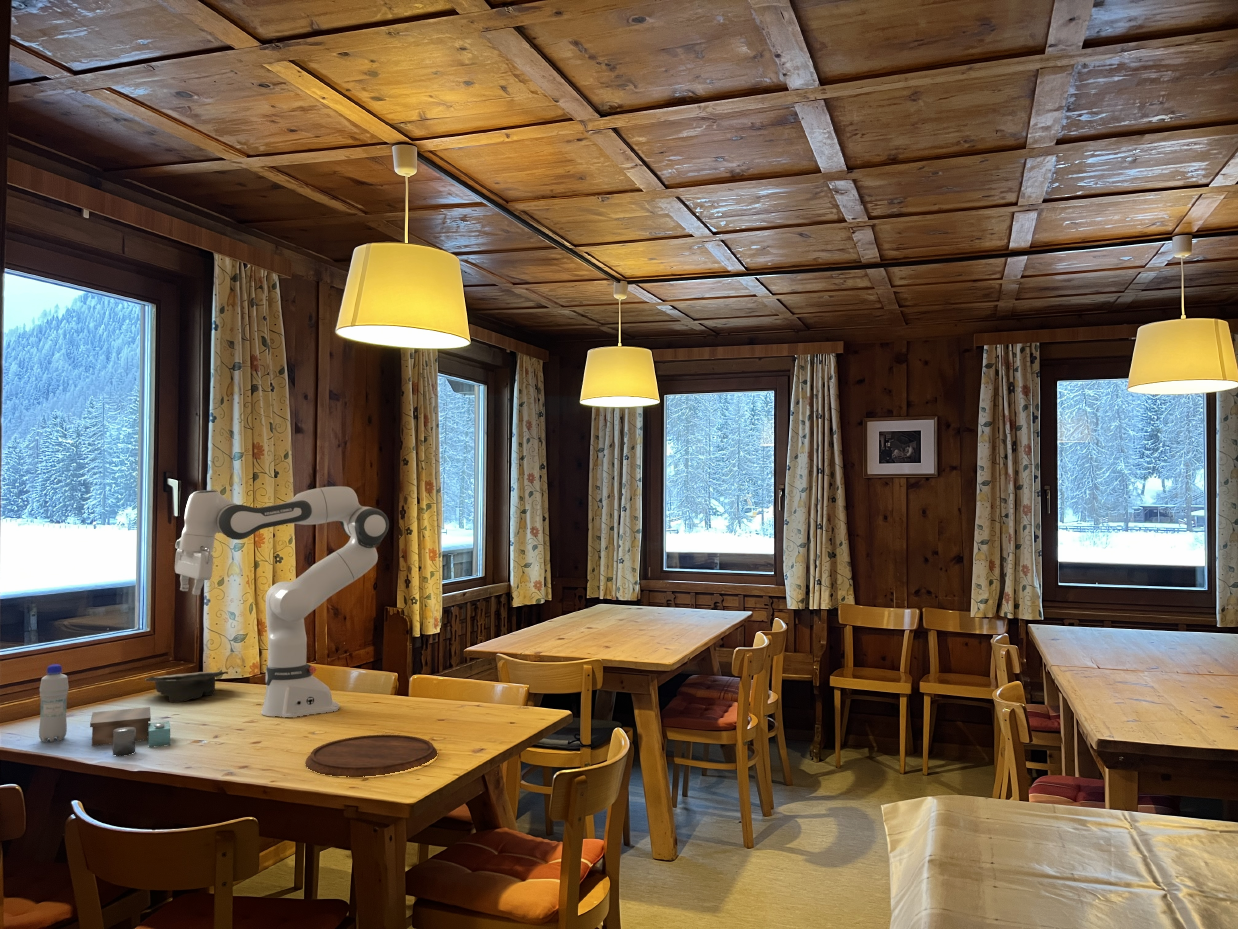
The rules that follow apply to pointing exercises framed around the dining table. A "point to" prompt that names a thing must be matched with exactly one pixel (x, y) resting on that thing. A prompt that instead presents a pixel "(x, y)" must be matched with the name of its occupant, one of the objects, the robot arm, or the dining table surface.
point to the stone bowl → (186, 685)
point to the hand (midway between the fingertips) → (189, 592)
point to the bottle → (53, 704)
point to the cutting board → (370, 755)
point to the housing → (158, 734)
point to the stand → (119, 724)
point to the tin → (124, 741)
